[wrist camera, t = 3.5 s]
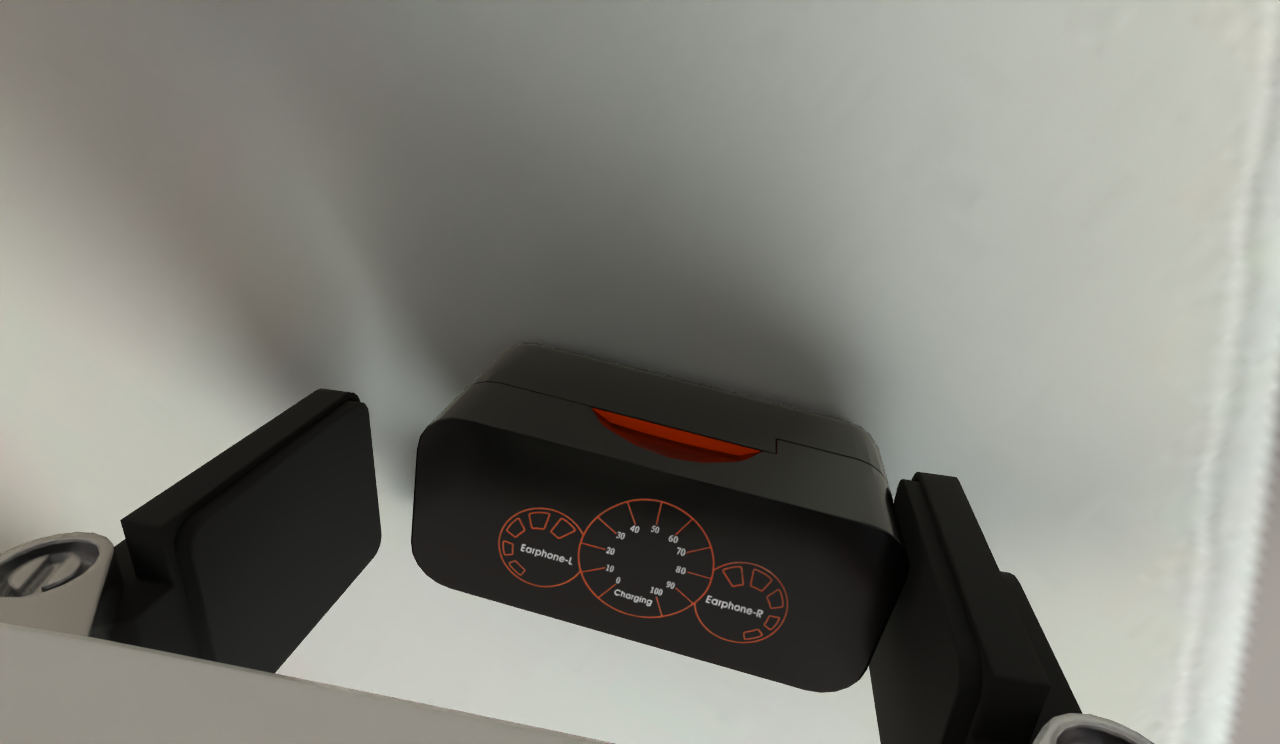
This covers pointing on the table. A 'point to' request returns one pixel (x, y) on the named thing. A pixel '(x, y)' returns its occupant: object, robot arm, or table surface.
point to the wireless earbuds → (663, 515)
